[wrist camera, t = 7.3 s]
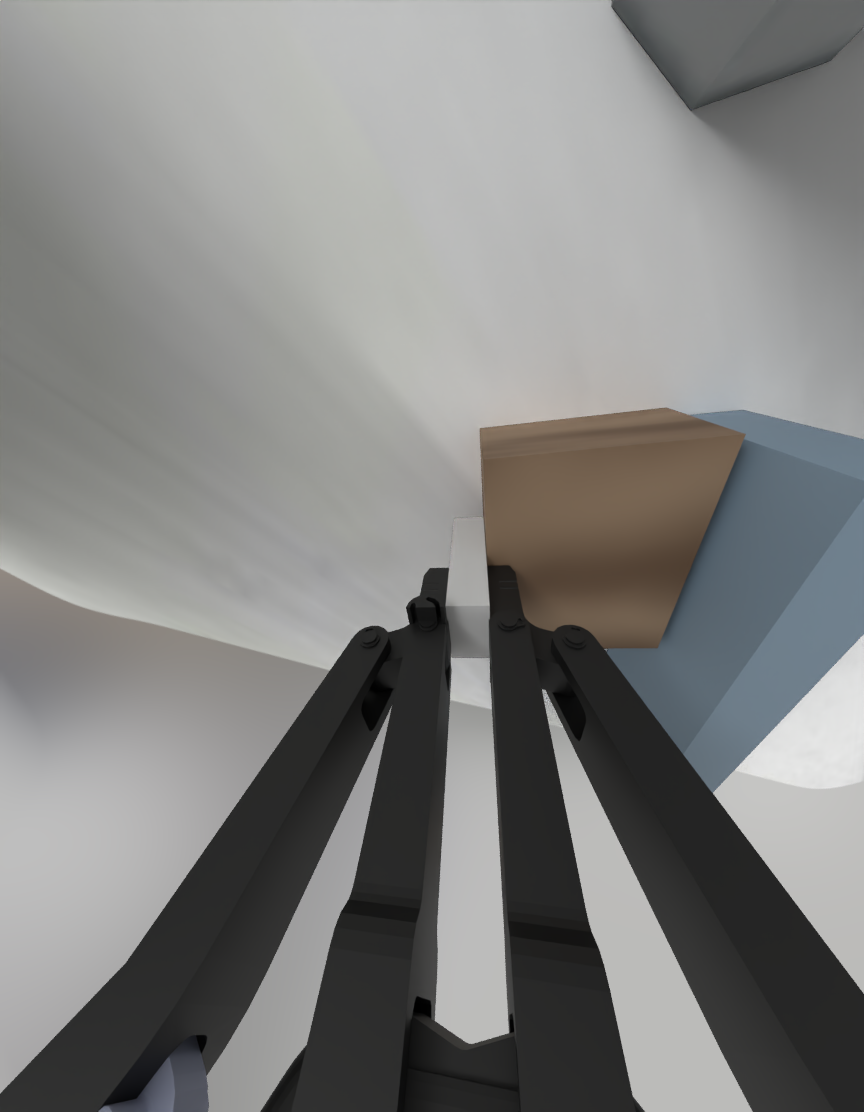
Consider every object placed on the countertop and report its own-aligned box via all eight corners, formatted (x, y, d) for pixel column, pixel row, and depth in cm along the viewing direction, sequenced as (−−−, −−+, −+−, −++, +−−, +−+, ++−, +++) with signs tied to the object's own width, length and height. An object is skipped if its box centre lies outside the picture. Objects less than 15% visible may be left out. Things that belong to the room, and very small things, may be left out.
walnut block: (479, 427, 15) (483, 459, 11) (662, 406, 14) (745, 434, 10) (486, 587, 20) (490, 649, 16) (617, 583, 19) (657, 648, 15)
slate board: (678, 415, 14) (872, 484, 7) (743, 410, 13) (1014, 476, 7) (591, 702, 26) (633, 825, 19) (624, 703, 25) (678, 829, 19)
